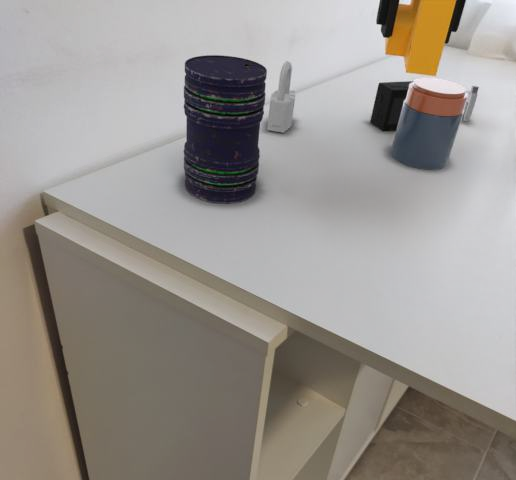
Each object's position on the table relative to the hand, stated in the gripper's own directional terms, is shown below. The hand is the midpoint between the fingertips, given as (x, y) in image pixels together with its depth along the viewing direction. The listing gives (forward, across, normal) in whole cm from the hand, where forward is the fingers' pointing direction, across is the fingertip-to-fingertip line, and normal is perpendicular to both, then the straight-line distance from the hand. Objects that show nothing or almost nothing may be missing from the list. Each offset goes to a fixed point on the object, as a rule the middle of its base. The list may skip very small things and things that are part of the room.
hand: (414, 34), depth 50 cm
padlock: (+23, -12, +36) cm, 44 cm away
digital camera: (+23, +10, +43) cm, 50 cm away
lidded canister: (+23, +11, +29) cm, 39 cm away
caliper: (+23, +24, +60) cm, 68 cm away
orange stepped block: (+2, 0, 0) cm, 2 cm away
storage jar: (+22, -19, +10) cm, 31 cm away
